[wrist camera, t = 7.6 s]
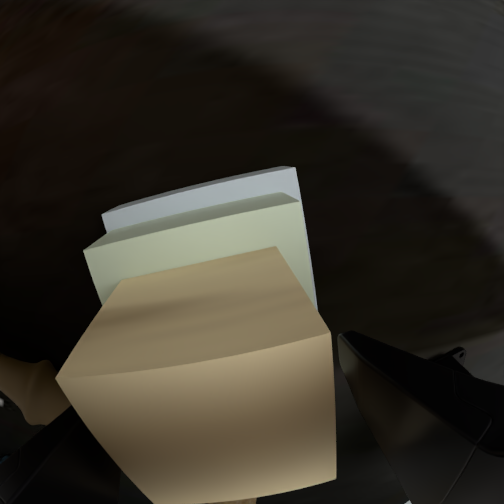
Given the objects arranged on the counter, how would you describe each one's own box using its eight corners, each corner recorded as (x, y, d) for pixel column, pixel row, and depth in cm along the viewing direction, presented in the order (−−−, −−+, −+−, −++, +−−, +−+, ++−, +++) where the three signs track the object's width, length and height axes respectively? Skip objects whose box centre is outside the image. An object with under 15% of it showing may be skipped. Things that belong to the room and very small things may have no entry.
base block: (305, 310, 17) (321, 338, 14) (167, 341, 17) (160, 373, 14) (280, 166, 15) (295, 167, 12) (122, 203, 14) (101, 214, 11)
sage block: (304, 340, 14) (322, 380, 11) (161, 368, 14) (152, 411, 11) (281, 191, 12) (300, 201, 9) (111, 230, 12) (83, 250, 9)
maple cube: (297, 371, 11) (336, 478, 6) (169, 395, 11) (155, 504, 6) (276, 246, 9) (330, 332, 5) (121, 280, 9) (55, 378, 4)
